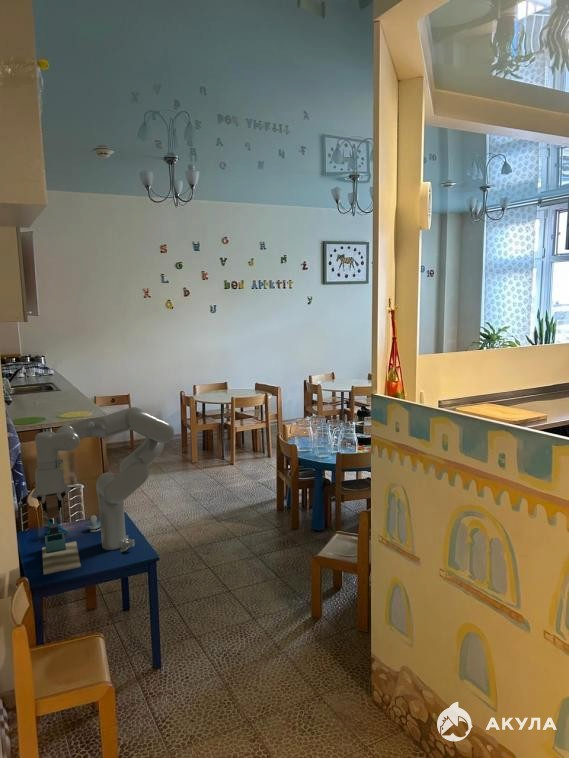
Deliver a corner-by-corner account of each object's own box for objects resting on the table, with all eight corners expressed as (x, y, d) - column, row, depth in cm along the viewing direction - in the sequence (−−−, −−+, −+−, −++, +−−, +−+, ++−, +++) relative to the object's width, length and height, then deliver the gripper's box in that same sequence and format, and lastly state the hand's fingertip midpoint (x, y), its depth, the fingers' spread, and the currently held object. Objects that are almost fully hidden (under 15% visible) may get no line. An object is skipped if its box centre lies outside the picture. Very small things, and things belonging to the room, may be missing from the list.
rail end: (59, 517, 216) (57, 494, 215) (47, 519, 214) (45, 496, 213) (58, 513, 220) (56, 491, 218) (47, 515, 218) (45, 493, 217)
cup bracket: (66, 559, 219) (64, 536, 217) (47, 563, 216) (45, 540, 214) (64, 544, 231) (62, 522, 230) (46, 548, 229) (44, 526, 227)
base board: (81, 570, 213) (80, 566, 213) (43, 578, 208) (43, 574, 208) (76, 544, 235) (76, 541, 235) (42, 551, 230) (42, 547, 229)
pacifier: (107, 528, 251) (98, 525, 254) (106, 515, 249) (97, 511, 253) (93, 534, 245) (84, 530, 248) (92, 521, 243) (83, 517, 247)
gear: (72, 532, 242) (53, 521, 237) (64, 545, 240) (44, 534, 235) (62, 528, 251) (44, 517, 246) (54, 540, 248) (35, 529, 243)
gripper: (71, 458, 221) (74, 503, 224) (23, 465, 213) (28, 511, 217) (72, 464, 214) (76, 509, 217) (24, 470, 207) (29, 518, 210)
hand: (52, 510), depth 217 cm, fingers closed on rail end, 4 cm apart
